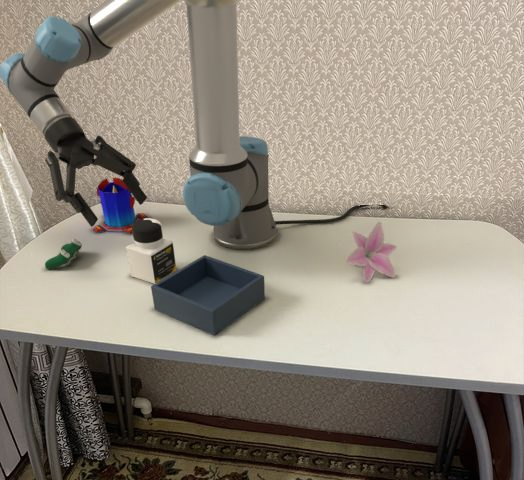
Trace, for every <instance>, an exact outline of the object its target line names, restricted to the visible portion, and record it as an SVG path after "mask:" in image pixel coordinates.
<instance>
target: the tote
mask: <svg viewBox="0 0 524 480" xmlns="http://www.w3.org/2000/svg"><path fill="white" fill-rule="evenodd" d="M150 290H151V295H152V301H153V306H154V310H155V311H157V312H160V313H162V314H163V315H167V316H169V317H171V318H173V319H175V320H178V321H180V322H182V323H185V324H187V325H189V326H192V327H194V328H195V329H198V330H200V331H203V332H205V333H208V334H210V335H211V336H216V335H217V334H219V333H220V332H222V331H223V330H225V328H227V327H228V326H230V325H231V324H232V323H234V322H235V321H236V320H238V319H239V318H241V317H242V316H243V315H245V314H246V313H247V312H249V311H250V310H251V309H253V308H255V307H256V306H257V305H258V304H260V303H261V302H263V301H264V300H265V299H266V298H265V297H266V296H265V295H266V290H265V275H263V274H261V273H258V272H254V271H252V270H248V269H245V268H243V267H240V266H237V265H234V264H231V263H229V262H226V261H223V260H221V259H217V258H214V257H212V256H209V255H206V254H204V255H202V256H200V257H199V258H197V259H195V260H193V261H192V262H190V263H187V264H186V265H185V266H183V267H181V268H180V269H177V270H176V271H175V272H173V273H172V274H170V275H169V276H167V277H166V278H164V279H163V280H161V281H159V282H158V283H156V284H154V283H153V284H152V285H151V286H150Z"/></svg>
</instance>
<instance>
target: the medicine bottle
mask: <svg viewBox="0 0 524 480" xmlns="http://www.w3.org/2000/svg"><path fill="white" fill-rule="evenodd" d="M162 226H163V225H162V222H161V221H160V220H158V219H155V218H150V217H148V218H146V219H139V220H138V221H136V222H135V223H134V224H133V225H132V232H133V233H132V236H133V243H131V244H128V245H127V246H126V247H125V249H126V255H127V260H128V265H129V270H130V277H132V278H136V279H139V280H142V281H145V282H148V283H151V284H153V285H154V284H156V283H158V282H159V281H161V280H163V279H164V278H166V277H168V276H170V275H171V274H173V273H175V272H176V271H177V264H176V257H175V249H174V242H173V241H172V240H169V239H166V238H164V235H163V227H162Z"/></svg>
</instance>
